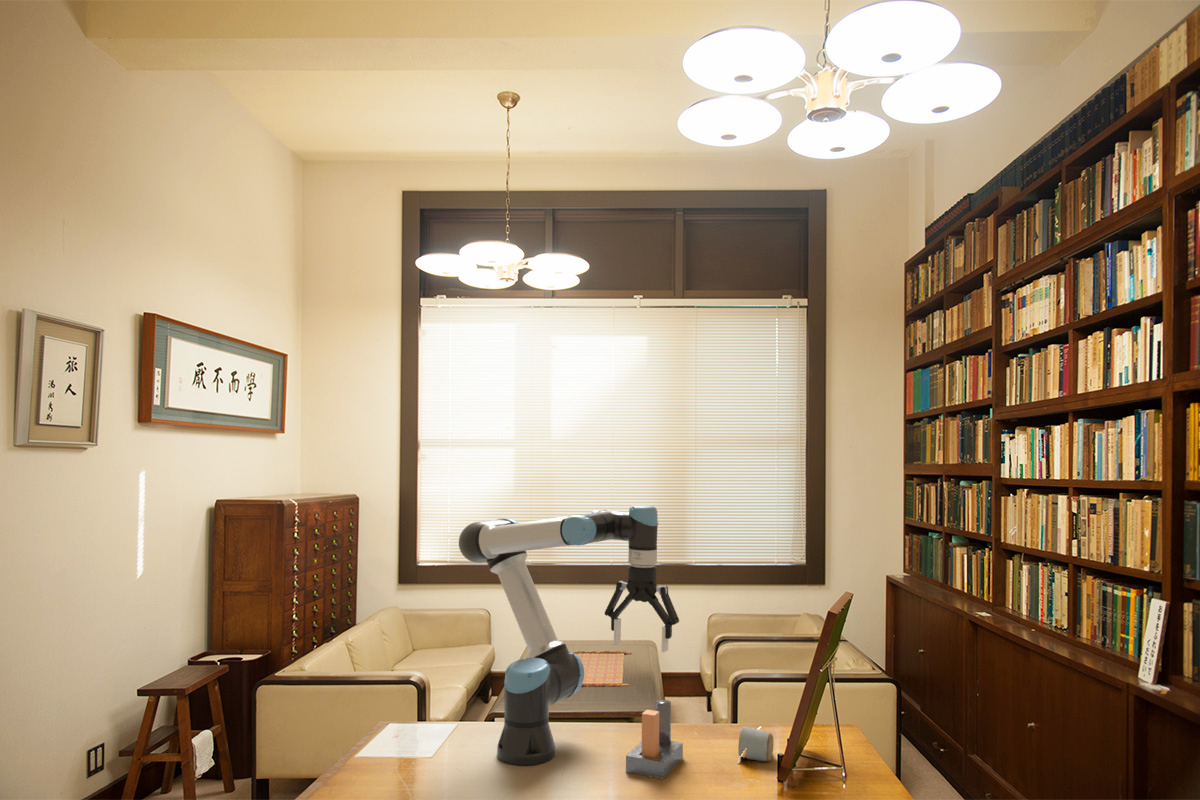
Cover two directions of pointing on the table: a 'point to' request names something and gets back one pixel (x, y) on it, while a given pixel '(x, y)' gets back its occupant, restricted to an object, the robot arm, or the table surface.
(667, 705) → the grey socket base
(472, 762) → the table surface
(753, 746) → the grey rounded box
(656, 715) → the salmon orange square bar
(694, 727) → the table surface
